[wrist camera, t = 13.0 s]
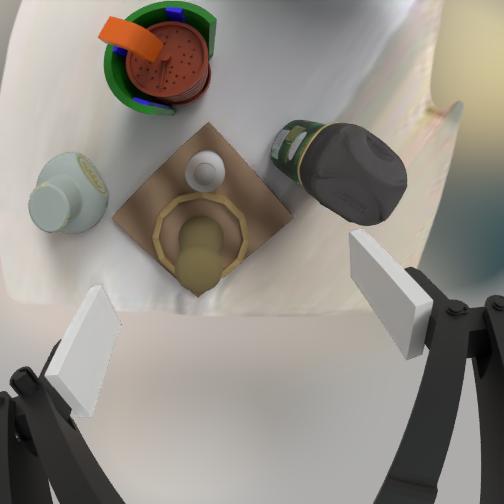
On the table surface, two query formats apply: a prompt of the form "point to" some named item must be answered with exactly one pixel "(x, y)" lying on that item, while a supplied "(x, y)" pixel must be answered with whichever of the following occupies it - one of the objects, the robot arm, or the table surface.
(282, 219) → the carrier board
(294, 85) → the table surface
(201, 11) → the motor
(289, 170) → the coffee jar
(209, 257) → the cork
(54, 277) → the table surface
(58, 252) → the table surface
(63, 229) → the air freshener
